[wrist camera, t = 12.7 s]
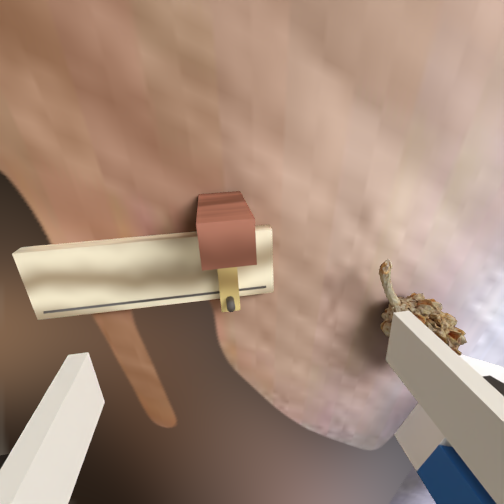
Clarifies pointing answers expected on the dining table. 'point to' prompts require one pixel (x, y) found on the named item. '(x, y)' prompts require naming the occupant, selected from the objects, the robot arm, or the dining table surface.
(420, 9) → the dining table surface
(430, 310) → the pine cone
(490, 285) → the dining table surface
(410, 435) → the toy block
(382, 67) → the dining table surface
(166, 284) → the board
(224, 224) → the block
